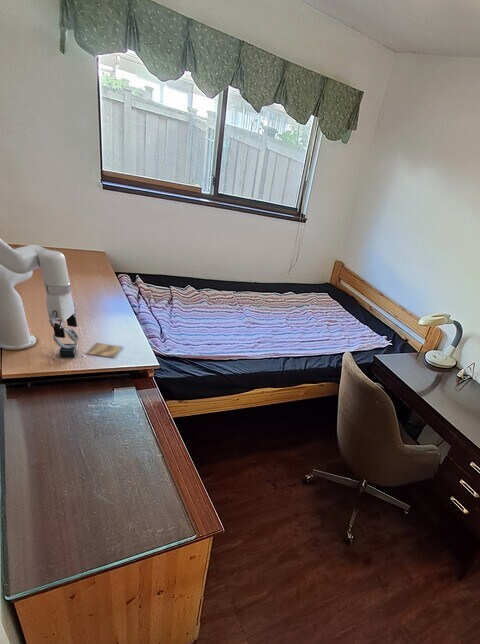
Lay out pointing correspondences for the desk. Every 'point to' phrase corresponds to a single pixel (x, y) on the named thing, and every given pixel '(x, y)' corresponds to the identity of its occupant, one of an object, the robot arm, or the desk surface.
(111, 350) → the brown wooden square tile
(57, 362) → the desk surface
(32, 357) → the desk surface
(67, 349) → the watch
